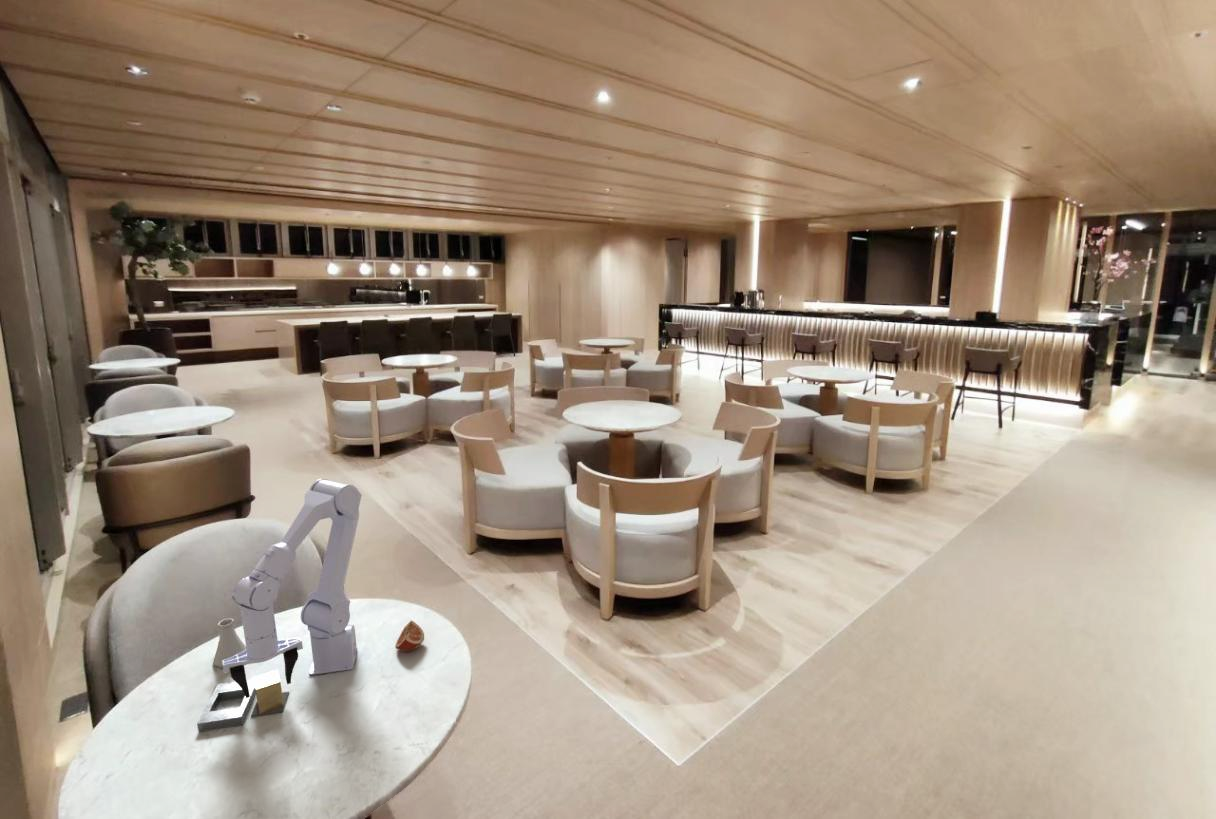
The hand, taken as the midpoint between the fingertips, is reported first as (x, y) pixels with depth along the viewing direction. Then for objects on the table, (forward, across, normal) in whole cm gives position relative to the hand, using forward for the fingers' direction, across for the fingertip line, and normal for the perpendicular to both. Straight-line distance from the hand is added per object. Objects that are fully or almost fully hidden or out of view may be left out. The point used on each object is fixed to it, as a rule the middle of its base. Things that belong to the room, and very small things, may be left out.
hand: (268, 688), depth 130 cm
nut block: (+4, 0, 0) cm, 4 cm away
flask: (+4, +6, -22) cm, 23 cm away
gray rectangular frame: (+4, +7, -4) cm, 9 cm away
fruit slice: (+4, -31, -4) cm, 32 cm away
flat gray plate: (+4, 0, 0) cm, 4 cm away
